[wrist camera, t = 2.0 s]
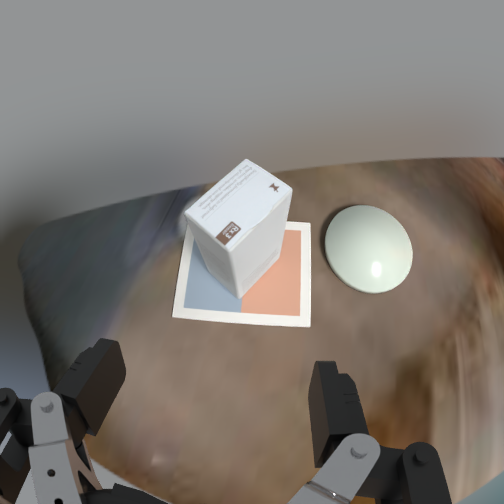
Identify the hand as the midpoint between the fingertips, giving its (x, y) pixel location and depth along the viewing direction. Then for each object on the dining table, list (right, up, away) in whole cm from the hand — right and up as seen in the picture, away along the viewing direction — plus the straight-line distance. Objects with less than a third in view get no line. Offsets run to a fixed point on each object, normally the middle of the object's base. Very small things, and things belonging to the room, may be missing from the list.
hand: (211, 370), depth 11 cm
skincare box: (+1, +3, +19) cm, 19 cm away
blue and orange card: (+1, +3, +19) cm, 19 cm away
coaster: (+14, +5, +19) cm, 24 cm away
